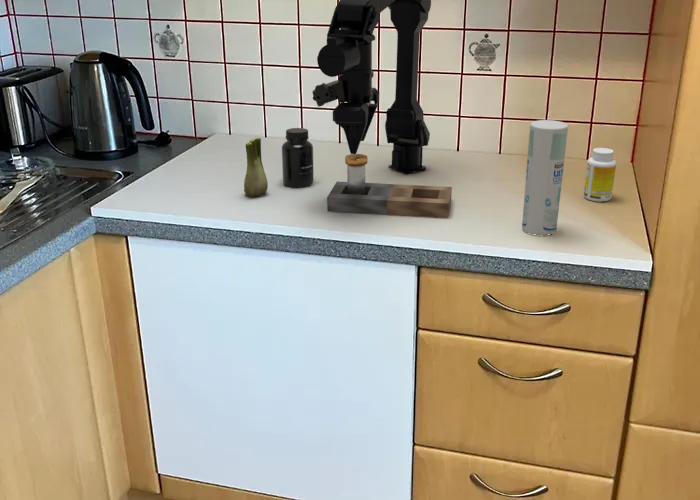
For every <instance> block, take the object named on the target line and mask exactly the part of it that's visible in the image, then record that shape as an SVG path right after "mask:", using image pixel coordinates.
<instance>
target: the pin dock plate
mask: <svg viewBox="0 0 700 500" xmlns="http://www.w3.org/2000/svg"><path fill="white" fill-rule="evenodd" d="M452 189H453V187H452V186H438V185H416V184H399V183H398V184H397V183H380V182H379V183H374V182H365V195H352V194H348V182H347V181H339V180H338V181H336V182H335V183H334V185H333V187H332V188H331V190H330V192H329V193H328V195H327V197H326V203H327V204H326V205H327V206H326V207H327V209H326V210H327V212H335V213H351V214H352V213H353V214H367V215H368V214H371V215H372V214H373V215H388V216H403V217H404V216H406V217H425V218H440V219H441V218H442V219H443V218H444V219H448V218H449V216H450V209H451V204H452V191H453V190H452Z"/></svg>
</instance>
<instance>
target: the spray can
mask: <svg viewBox="0 0 700 500" xmlns="http://www.w3.org/2000/svg"><path fill="white" fill-rule="evenodd" d="M568 131H569V126H568V124H567V123H566V122H563V121H559V120H552V119H551V120H550V119H541V120H534V121H532V122H530V124H529V134H528V147H527V148H528V149H527V158H526V171H525V172H526V175H525V185H524V194H523V195H524V197H523V209H522V221H521V228H522V229H523V230H524V231H525V232H524V231H523V230H522V231H523V232H524V233H526V232H527V233H526V234H528V233H530V234H529V235H531V234H536V235H548V234H552V233H554V232H555V231H557V227H558V219H559V209H560V201H561V191H562V182H563V174H564V168H565V167H564V166H565V160H566V159H565V158H566V148H567V139H568ZM555 233H556V232H555ZM555 233H554V234H555ZM536 235H535V236H536ZM552 235H553V234H552ZM548 236H549V235H548Z"/></svg>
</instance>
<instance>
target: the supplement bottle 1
mask: <svg viewBox="0 0 700 500" xmlns="http://www.w3.org/2000/svg"><path fill="white" fill-rule="evenodd" d="M309 137H310V136H309V129H307V128H304V127H303V128H302V127H294V128H293V127H292V128H288V129H286V130H285V140H286V141H285V142H284V143H283V144H282V146H281V159H282V160H281V163H282V165H281V167H282V183H283V184H284V185H285V186H287V187H290V188H296V189H298V188H306V187H310V186H312V185H313V183H314V180H315V179H314V175H315V174H314V146H313V144H312V142H310V141H308V140H309Z"/></svg>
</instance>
